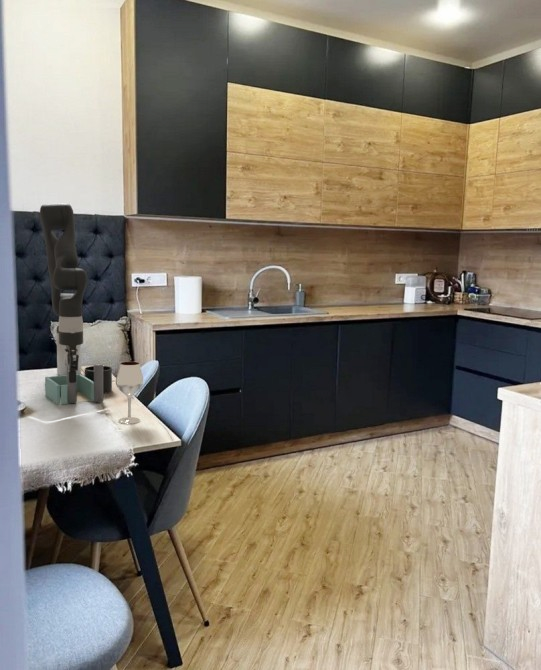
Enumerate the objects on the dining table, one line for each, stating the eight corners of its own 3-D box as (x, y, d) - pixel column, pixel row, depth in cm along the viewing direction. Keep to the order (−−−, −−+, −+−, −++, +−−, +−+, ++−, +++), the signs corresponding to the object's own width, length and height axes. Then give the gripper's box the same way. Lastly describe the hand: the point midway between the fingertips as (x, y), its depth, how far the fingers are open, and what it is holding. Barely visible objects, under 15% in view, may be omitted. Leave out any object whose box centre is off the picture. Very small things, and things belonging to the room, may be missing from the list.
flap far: (98, 403, 185) (97, 366, 183) (88, 401, 187) (88, 364, 185) (105, 402, 187) (105, 364, 185) (95, 399, 190) (95, 362, 188)
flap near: (60, 402, 184) (59, 365, 182) (75, 401, 186) (75, 364, 185) (61, 405, 181) (61, 366, 180) (77, 403, 184) (77, 365, 182)
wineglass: (132, 415, 176) (132, 359, 173) (148, 421, 171) (149, 363, 168) (110, 420, 169) (110, 363, 167) (126, 426, 164) (126, 367, 162)
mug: (110, 387, 210) (110, 363, 209) (112, 395, 199) (112, 370, 198) (84, 388, 207) (83, 364, 206) (85, 396, 196) (84, 371, 194)
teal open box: (45, 396, 193) (45, 377, 192) (80, 392, 200) (79, 373, 199) (57, 406, 182) (57, 385, 181) (93, 401, 189) (93, 381, 188)
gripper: (55, 327, 185) (56, 377, 188) (61, 333, 173) (62, 387, 175) (79, 326, 189) (79, 376, 191) (86, 332, 176) (87, 385, 179)
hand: (71, 381), depth 183 cm, fingers closed on flap near, 3 cm apart
